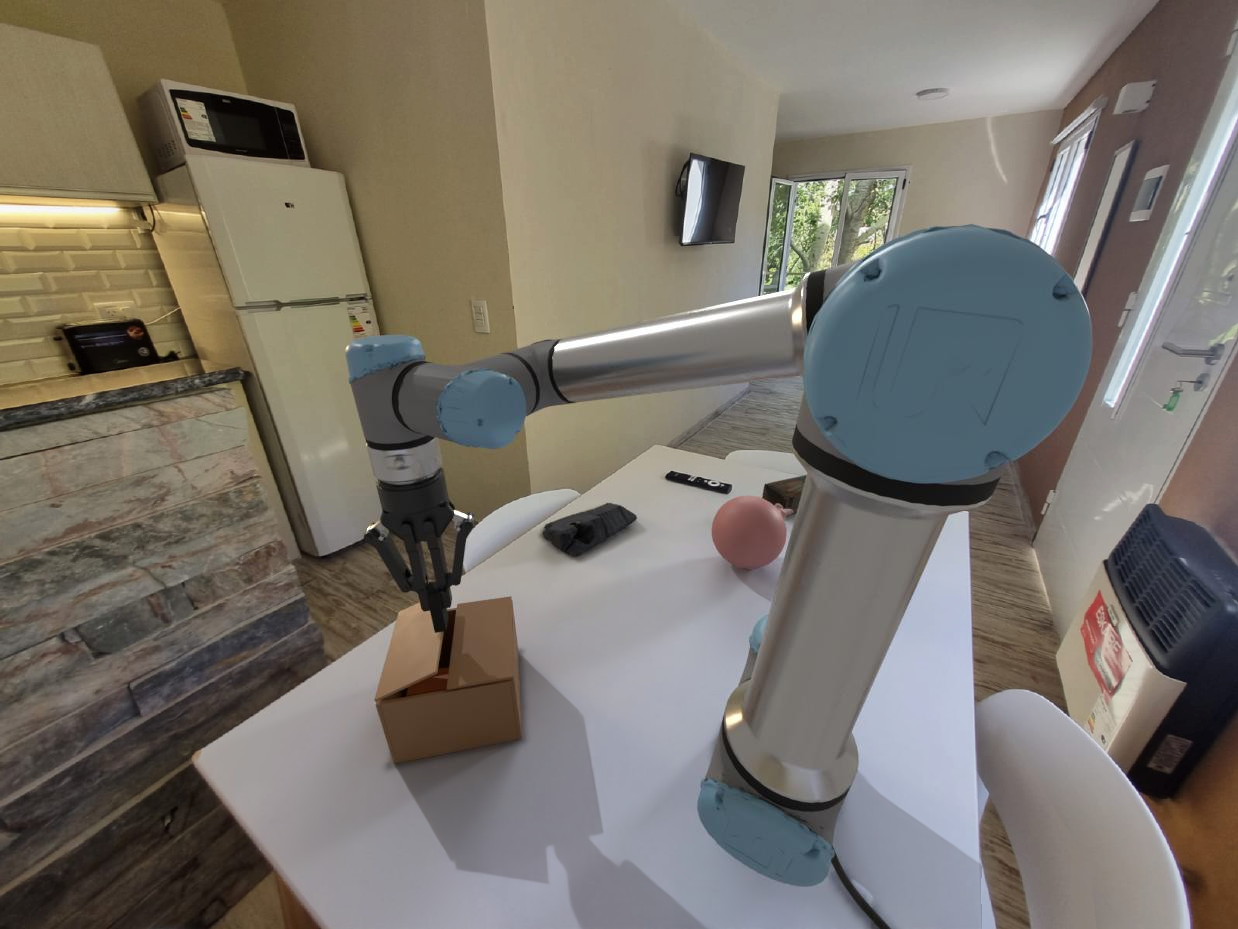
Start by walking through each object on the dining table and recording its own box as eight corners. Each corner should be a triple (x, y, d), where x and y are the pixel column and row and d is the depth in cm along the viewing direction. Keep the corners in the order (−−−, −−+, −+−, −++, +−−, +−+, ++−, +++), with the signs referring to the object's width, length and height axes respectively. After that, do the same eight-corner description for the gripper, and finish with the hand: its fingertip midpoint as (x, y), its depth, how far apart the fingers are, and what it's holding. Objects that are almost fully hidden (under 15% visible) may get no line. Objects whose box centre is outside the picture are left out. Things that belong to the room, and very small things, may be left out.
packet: (462, 710, 71) (457, 687, 69) (412, 719, 70) (406, 695, 68) (464, 688, 75) (459, 665, 73) (416, 696, 73) (410, 673, 71)
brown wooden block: (836, 503, 128) (840, 481, 125) (779, 518, 121) (783, 496, 118) (814, 490, 135) (818, 469, 132) (758, 504, 128) (762, 482, 125)
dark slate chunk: (646, 528, 117) (647, 511, 115) (571, 561, 105) (570, 543, 103) (608, 503, 128) (608, 487, 126) (536, 531, 116) (534, 514, 114)
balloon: (812, 566, 103) (826, 505, 97) (737, 592, 96) (746, 527, 89) (765, 530, 116) (774, 474, 110) (695, 550, 109) (700, 491, 102)
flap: (437, 673, 60) (435, 671, 59) (375, 702, 59) (374, 700, 59) (449, 590, 74) (448, 588, 73) (400, 613, 73) (398, 611, 73)
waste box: (521, 738, 68) (513, 676, 62) (393, 764, 64) (373, 700, 59) (518, 652, 82) (511, 595, 77) (413, 669, 79) (398, 611, 73)
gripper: (339, 492, 52) (385, 653, 62) (465, 480, 54) (489, 637, 64) (357, 463, 58) (396, 613, 68) (469, 454, 61) (490, 600, 71)
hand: (441, 624), depth 66 cm, fingers closed
